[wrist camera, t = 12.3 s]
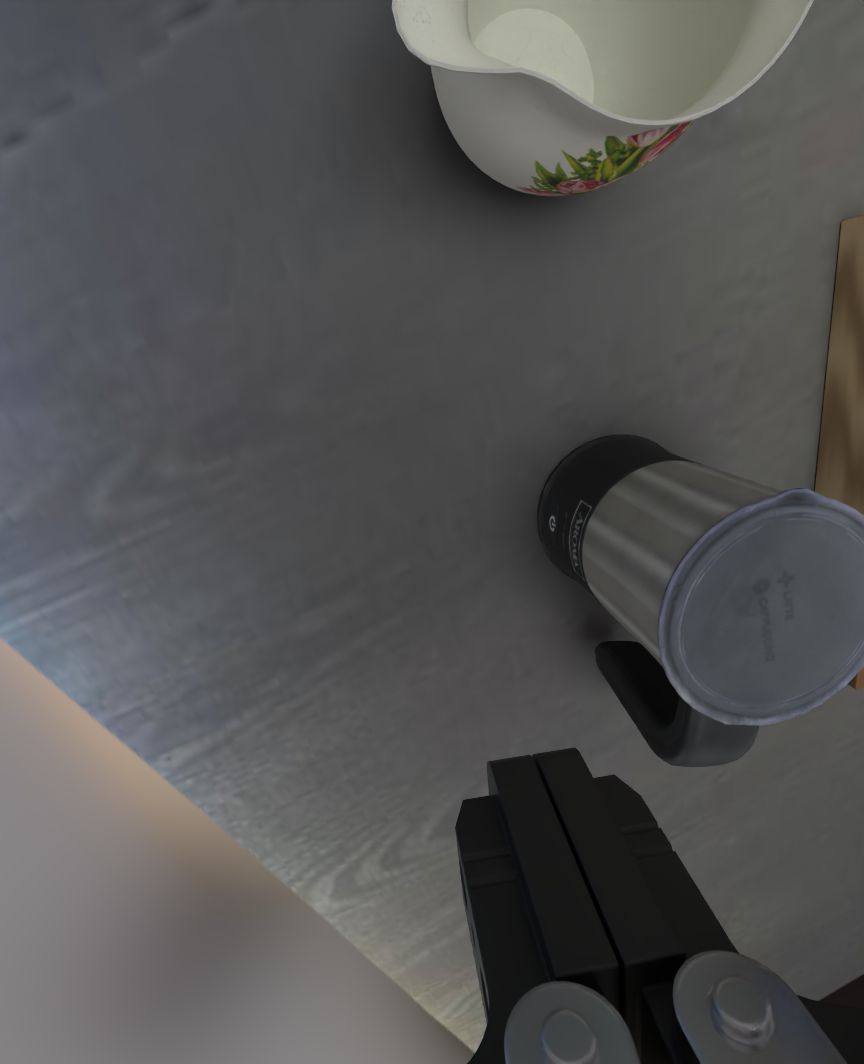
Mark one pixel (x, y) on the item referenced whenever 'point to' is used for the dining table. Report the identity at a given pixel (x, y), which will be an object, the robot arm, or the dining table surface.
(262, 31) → the dining table surface
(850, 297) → the corner rail
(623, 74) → the pitcher
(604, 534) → the milk frother
